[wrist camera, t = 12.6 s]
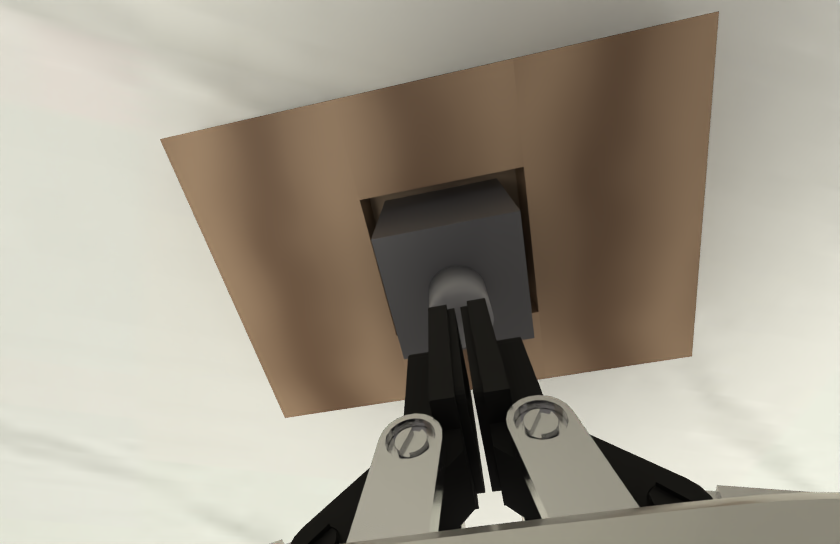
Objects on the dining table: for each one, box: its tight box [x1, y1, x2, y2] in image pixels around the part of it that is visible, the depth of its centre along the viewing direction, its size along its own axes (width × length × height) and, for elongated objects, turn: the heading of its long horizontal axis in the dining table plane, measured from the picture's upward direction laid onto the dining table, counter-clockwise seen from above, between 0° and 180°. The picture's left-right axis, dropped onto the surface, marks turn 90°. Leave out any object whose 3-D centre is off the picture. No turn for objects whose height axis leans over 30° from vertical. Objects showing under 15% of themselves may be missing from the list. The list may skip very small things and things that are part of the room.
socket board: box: [160, 11, 719, 418], centre depth 19 cm, size 20×14×3 cm
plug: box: [371, 178, 535, 359], centre depth 16 cm, size 5×5×7 cm
